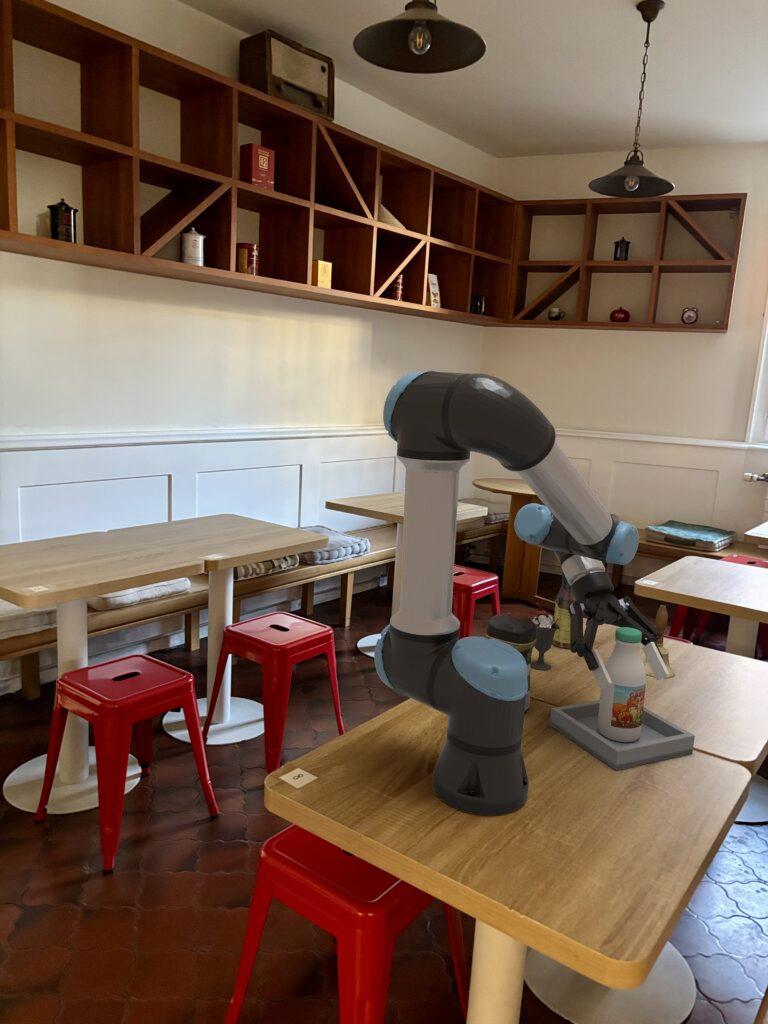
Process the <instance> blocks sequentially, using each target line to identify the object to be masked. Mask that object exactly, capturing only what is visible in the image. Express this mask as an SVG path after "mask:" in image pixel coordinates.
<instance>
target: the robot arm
mask: <svg viewBox="0 0 768 1024" xmlns="http://www.w3.org/2000/svg"><path fill="white" fill-rule="evenodd" d="M382 412H383V413H382V414H383V415H382V420H383V421H382V422H383V427H384V428H385V430H386V431H387V434H388V436H389V437H390V439H392V440H393V441H394V442H395V443H396V444H397V445H396V458H397V459H398V460H399V461H400V462H401V464H403V466H404V467H405V479H404V481H405V484H404V498H403V499H404V502H403V503H404V504H403V523H402V524H403V525H402V526H403V527H402V528H403V529H402V532H403V533H402V545H401V546H402V551H401V573H400V594H399V595H400V596H399V597H400V598H399V610H397V611H396V612H395V613H394V614H393V615H392V616H391V617H390V619H389V624H388V625H386V626H385V627H384V628H383V630H382V631H381V632H380V638H378V639H377V640H376V644H375V645H374V646H375V648H374V654H373V655H374V657H373V658H374V660H373V661H374V666H375V670H376V673H377V675H378V677H379V679H380V680H381V682H383V683H384V684H385V686H387V687H389V688H390V689H392V690H393V691H395V692H397V694H399V695H401V696H403V697H406V698H410V699H412V700H413V701H416V702H418V703H421V704H423V705H425V706H428V707H430V708H431V709H433V710H436V711H438V712H440V713H443V714H444V715H446V716H447V725H446V738H445V741H444V743H443V746H442V749H441V751H440V753H439V756H438V758H437V760H436V763H435V764H434V766H433V769H432V777H431V779H432V780H431V787H432V788H431V789H432V790H433V792H434V794H435V795H436V797H438V799H440V800H441V801H442V802H444V803H445V804H447V805H448V806H449V807H452V808H454V809H456V810H459V811H462V812H465V813H469V814H475V815H480V816H500V815H506V814H509V813H513V812H516V811H517V810H519V809H520V808H522V807H523V806H524V805H526V803H527V800H528V796H529V787H530V783H529V777H528V773H527V768H526V764H525V759H524V756H523V753H522V752H523V751H522V739H523V738H522V737H523V730H524V720H525V712H526V711H525V702H526V693H527V691H528V682H527V671H528V668H527V664H526V660H525V659H524V657H523V656H522V654H521V653H520V652H519V651H517V650H516V649H515V648H513V647H512V646H510V645H508V644H506V643H504V642H501V641H498V640H495V639H486V637H484V636H477V635H476V636H475V635H474V636H467V637H462V638H460V629H461V622H460V620H459V619H458V618H457V617H456V616H455V615H454V614H453V612H452V609H453V608H452V607H453V593H454V591H453V590H454V576H455V575H454V573H455V558H456V557H455V555H456V554H455V553H456V541H457V523H458V522H457V519H458V506H459V505H458V501H459V488H460V487H459V483H460V471H461V468H463V467H464V466H465V465H466V464H467V463H468V462H469V461H470V459H471V452H472V453H478V454H481V455H485V456H488V457H490V458H492V459H495V460H496V461H498V463H500V464H501V466H502V467H503V468H504V469H506V470H507V471H510V472H512V473H517V474H518V475H519V477H520V478H521V479H522V480H523V481H524V483H526V485H527V486H528V487H529V488H530V489H531V490H532V492H533V493H534V494H535V495H536V497H538V498H539V500H540V501H541V502H542V504H539V503H536V502H535V503H528V504H525V505H524V506H522V507H521V508H520V509H519V510H518V511H517V513H516V516H515V518H514V522H513V523H514V524H513V525H514V531H515V533H516V536H518V538H519V539H520V540H522V541H524V542H526V543H527V544H528V545H534V546H536V547H539V548H541V549H542V548H543V549H545V550H548V551H550V552H553V553H554V555H555V556H556V559H557V561H558V563H559V565H560V567H561V570H563V572H564V574H565V576H566V579H567V581H568V583H569V585H571V586H572V587H571V590H572V592H573V595H574V597H575V599H576V601H575V602H573V603H572V604H571V605H570V606H569V607H568V612H569V615H570V648H569V650H570V652H571V653H572V654H577V657H579V658H583V659H584V661H585V663H586V666H587V668H588V669H589V671H590V672H592V673H593V676H594V678H595V680H596V682H597V685H598V687H599V689H600V691H601V689H604V688H606V687H607V686H609V685H610V684H611V683H612V681H611V679H610V677H609V674H608V672H607V670H606V668H605V664H604V661H603V659H602V657H601V654H600V652H599V651H598V648H594V649H593V647H594V643H595V640H596V636H597V632H598V628H599V626H602V625H614V626H616V627H619V628H620V627H629V628H634V629H637V630H639V631H641V632H642V640H641V645H643V647H642V648H641V650H642V651H643V653H644V655H645V658H647V660H648V662H649V664H650V666H651V668H652V670H653V672H654V675H655V677H654V678H655V679H656V680H657V681H661V680H662V679H665V678H664V677H666V676H667V675H669V672H668V670H667V668H666V666H665V664H664V662H663V660H662V658H663V657H662V654H661V652H660V650H659V648H658V646H657V643H656V641H657V640H658V639H659V638H661V637H662V634H661V633H660V632H659V631H658V630H657V628H656V626H655V625H654V624H653V623H652V622H651V621H650V620H649V619H648V618H647V617H646V616H645V615H644V613H642V612H641V611H640V609H638V608H637V607H636V605H635V604H634V602H633V601H632V599H631V597H630V596H628V595H626V596H624V597H623V598H621V599H618V598H617V597H616V596H615V592H614V591H615V587H614V585H613V582H612V580H611V579H610V576H609V574H608V573H607V572H606V568H605V566H604V563H606V564H615V565H621V566H625V565H627V564H629V563H630V562H632V560H633V559H634V558H635V557H636V556H635V555H636V553H637V551H638V547H639V544H640V535H639V531H638V529H637V527H636V526H635V525H633V524H631V523H628V522H625V521H623V520H621V521H617V520H616V519H614V517H613V516H612V515H611V513H610V512H609V510H608V509H607V508H606V507H605V505H604V503H603V502H602V501H601V500H600V498H599V497H598V496H597V495H596V493H595V491H594V490H593V489H592V487H590V485H589V483H587V481H586V480H585V478H584V477H583V475H581V473H580V472H579V471H578V469H577V468H576V467H575V465H574V463H573V462H572V461H571V460H570V458H569V457H568V456H567V454H566V453H565V452H564V450H563V449H562V448H561V446H560V445H559V444H558V442H557V432H556V429H555V427H554V425H553V424H552V423H551V421H550V420H549V418H548V417H547V416H546V415H545V414H544V413H543V412H542V410H541V409H540V408H539V407H538V406H537V405H536V404H535V403H534V402H533V401H532V400H531V399H529V398H528V396H526V395H525V394H524V393H522V392H521V391H520V390H519V389H517V388H516V387H514V386H513V385H511V384H509V382H506V381H505V380H504V379H503V380H502V379H501V378H499V377H496V376H494V375H490V374H486V373H473V372H472V373H467V372H466V373H465V372H448V371H447V372H446V371H434V370H427V371H414V372H410V373H407V374H406V375H403V376H402V377H400V378H399V379H398V380H397V382H396V383H395V384H394V385H393V386H392V387H391V388H390V390H389V392H388V394H387V396H386V398H385V401H384V405H383V411H382ZM603 562H604V563H603ZM584 615H585V616H586V618H587V619H586V620H585V621H586V622H585V629H584Z"/></svg>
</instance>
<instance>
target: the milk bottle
mask: <svg viewBox="0 0 768 1024" xmlns="http://www.w3.org/2000/svg"><path fill="white" fill-rule="evenodd" d="M614 637H615V638H614V641H615V645H614V648H613V650H612V653H611V654H610V655H609V657H608V658H607V661H606V663H605V664H604V665H605V668H606V670H607V672H608V674H609V677H610V679H611V681H612V683H611V684H610V685H609V686H607V687H606V688H604V689H601V690H600V693H599V694H600V696H599V700H600V704H599V714H598V726H597V728H598V731H599V733H600V734H601V735H602V736H604V737H606V738H608V739H611V740H614V741H619V742H633V741H636V740H638V738H639V737H640V735H641V727H642V718H643V708H645V707H644V706H645V699H646V698H645V695H646V684H647V675H646V672H645V667H644V664H643V661H644V660H643V659H642V656H641V651H640V646H641V645H642V643H641V640H642V632H641V631H639V630H637V629H634V628H629V627H620V626H619V627H617V628H616V629H615V633H614Z"/></svg>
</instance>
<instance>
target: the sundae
mask: <svg viewBox="0 0 768 1024" xmlns="http://www.w3.org/2000/svg"><path fill="white" fill-rule="evenodd" d="M535 605H537V606H538V607H539V610H538V611H536V616H534V617H533V619H532V621H531V622H534V623H535V625H536V643H535V646H534V648H535V650H537V652H538V658H537V660H536V661H531V667H530V668H532V669H534V670H538V671H548V670H551V669H552V666H551V664H549V663H547V662H545V653H547V652H548V651H550V649H552V646H553V638H554V634H555V631H556V630H558V629H560V628H559V625H558V624H557V623H556V622H557V621H558V619H557V620H556V621H555V622H554V616H552V615H551V614H550V613H548V612H547V611H546V610H544V609H543V607H542V606H541V605H540V602H536V604H535ZM541 610H542V611H541Z"/></svg>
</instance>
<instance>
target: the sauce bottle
mask: <svg viewBox="0 0 768 1024" xmlns="http://www.w3.org/2000/svg"><path fill="white" fill-rule="evenodd" d="M561 570H562V569H561ZM561 574H562V579H561V586H560V588H559V589H558V593H557V594H556V596H555V601H554V614H553V622H555V621H556V620H557V619H558V621H557V622H556V623H557V624H558V625H559V628H560V629H558V630H556V631H555V634H554V638H553V643H552V645H554V646H555V647H558V648H562V649H565V648H566V649H567V650H568V649H569V650H570V615H569V612H568V607H569V606H570V605H571V604H572V603H573V602H575V601H576V599H575V597H574V595H573V592H572V590H571V587H572V586H571V585H569V583H568V581H567V579H566V576H565V574H564V572H563V570H562V572H561ZM566 649H565V650H566Z"/></svg>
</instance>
